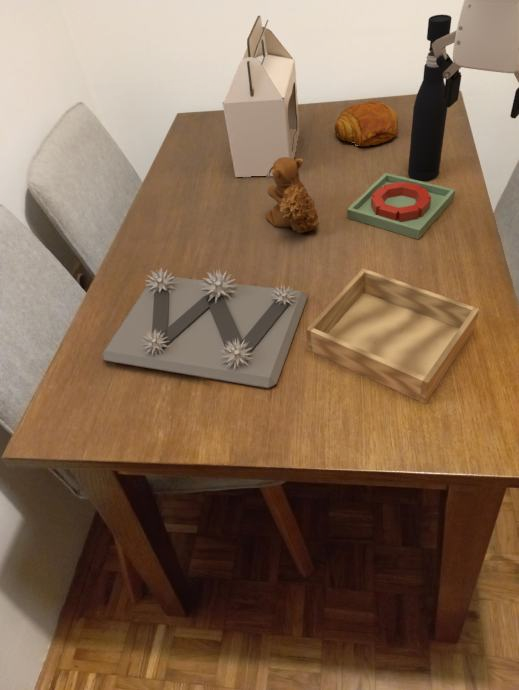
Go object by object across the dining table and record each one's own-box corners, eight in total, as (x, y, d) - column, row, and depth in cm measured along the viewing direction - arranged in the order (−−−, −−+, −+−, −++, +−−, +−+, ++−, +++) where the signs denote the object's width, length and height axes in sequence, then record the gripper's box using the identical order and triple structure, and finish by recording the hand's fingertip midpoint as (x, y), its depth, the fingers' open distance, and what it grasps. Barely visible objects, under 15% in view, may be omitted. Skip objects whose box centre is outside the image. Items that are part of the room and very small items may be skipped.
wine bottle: (406, 180, 113) (419, 24, 91) (409, 165, 117) (423, 12, 95) (437, 182, 111) (458, 23, 90) (439, 166, 115) (460, 11, 94)
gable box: (291, 176, 120) (279, 42, 100) (235, 178, 123) (212, 48, 103) (300, 131, 135) (291, 7, 115) (249, 134, 138) (232, 13, 117)
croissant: (331, 136, 136) (326, 106, 130) (389, 116, 134) (386, 84, 129) (347, 161, 125) (342, 129, 120) (410, 139, 124) (408, 106, 119)
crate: (473, 333, 81) (479, 308, 77) (424, 407, 73) (428, 383, 69) (362, 291, 91) (362, 267, 87) (308, 352, 83) (305, 329, 79)
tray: (454, 198, 106) (455, 189, 105) (418, 239, 99) (419, 230, 97) (385, 181, 114) (385, 172, 113) (347, 218, 106) (346, 209, 105)
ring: (438, 198, 106) (439, 190, 105) (412, 227, 101) (413, 218, 99) (388, 186, 111) (389, 177, 110) (362, 212, 106) (362, 203, 105)
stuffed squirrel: (305, 199, 113) (300, 141, 103) (333, 233, 103) (331, 172, 94) (261, 213, 112) (253, 155, 102) (286, 248, 102) (280, 188, 92)
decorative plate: (101, 365, 87) (86, 335, 82) (156, 281, 100) (145, 251, 95) (275, 394, 78) (270, 363, 73) (309, 298, 91) (307, 266, 86)
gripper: (593, -37, 63) (553, 107, 75) (453, -40, 71) (438, 90, 83) (573, -19, 59) (534, 130, 71) (428, -24, 67) (416, 110, 80)
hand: (482, 108), depth 77 cm, fingers open, 9 cm apart
